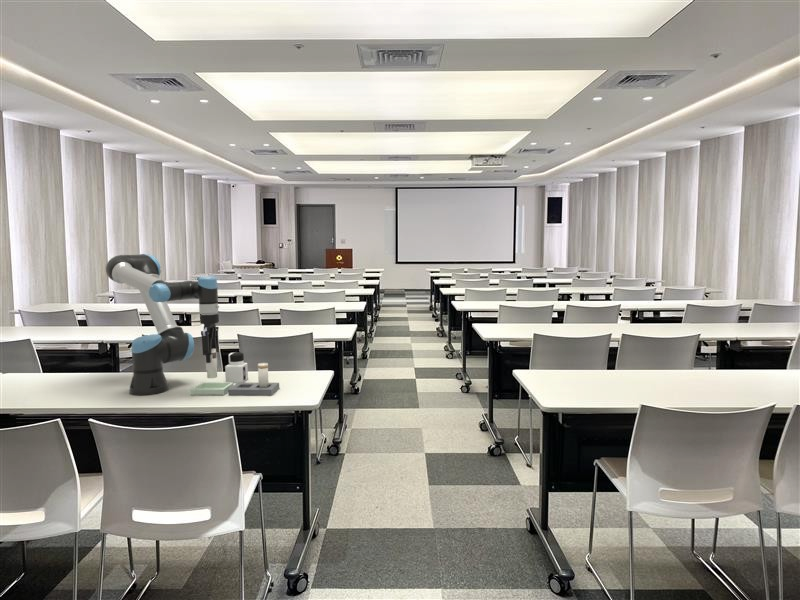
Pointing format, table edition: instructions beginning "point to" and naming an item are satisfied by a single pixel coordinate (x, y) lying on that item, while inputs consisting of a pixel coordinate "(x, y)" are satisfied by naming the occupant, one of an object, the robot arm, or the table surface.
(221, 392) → the parts tray
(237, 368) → the container
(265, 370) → the cylinder
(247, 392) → the fuse block
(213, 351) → the fuse
